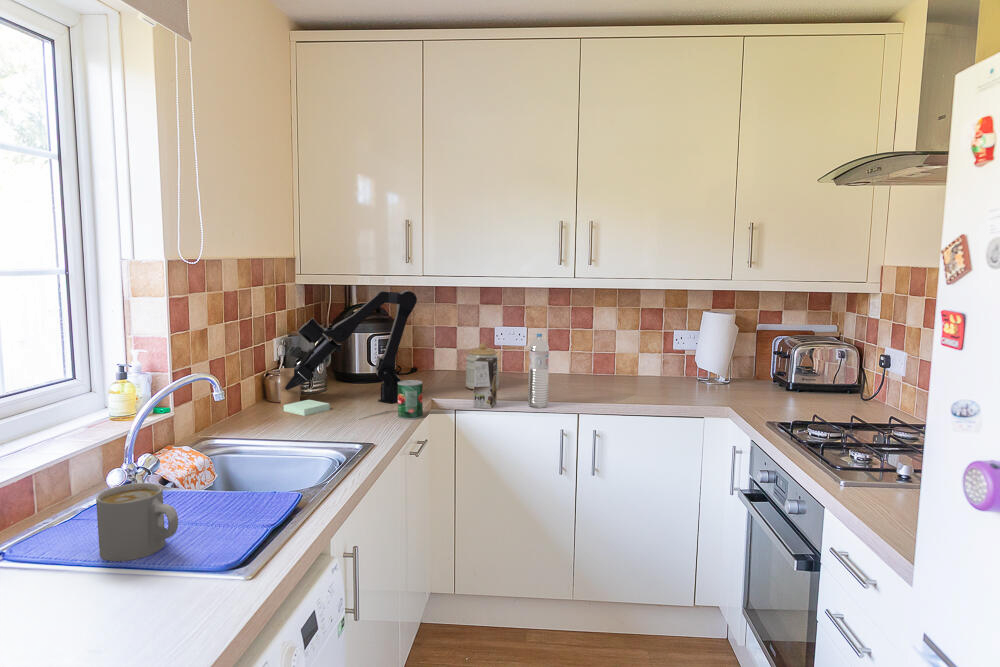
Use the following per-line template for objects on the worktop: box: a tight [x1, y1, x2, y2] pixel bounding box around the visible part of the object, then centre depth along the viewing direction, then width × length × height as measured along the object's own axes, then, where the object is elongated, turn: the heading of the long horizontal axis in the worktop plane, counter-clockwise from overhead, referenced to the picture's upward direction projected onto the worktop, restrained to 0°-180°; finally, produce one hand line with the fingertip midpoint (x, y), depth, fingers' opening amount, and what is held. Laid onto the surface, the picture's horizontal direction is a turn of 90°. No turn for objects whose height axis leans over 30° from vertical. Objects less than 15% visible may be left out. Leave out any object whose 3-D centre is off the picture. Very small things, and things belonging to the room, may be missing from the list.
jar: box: [465, 342, 500, 388], centre depth 253 cm, size 13×13×18 cm
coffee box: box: [473, 357, 498, 409], centre depth 224 cm, size 9×6×16 cm
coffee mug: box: [95, 482, 179, 562], centre depth 113 cm, size 13×10×10 cm
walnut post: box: [279, 367, 301, 406], centre depth 220 cm, size 6×6×12 cm
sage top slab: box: [283, 399, 331, 417], centre depth 209 cm, size 10×10×2 cm
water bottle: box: [527, 333, 550, 409], centre depth 224 cm, size 7×7×25 cm
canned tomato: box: [397, 379, 424, 420], centre depth 208 cm, size 8×8×11 cm
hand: (286, 386), depth 219 cm, fingers open, 9 cm apart
